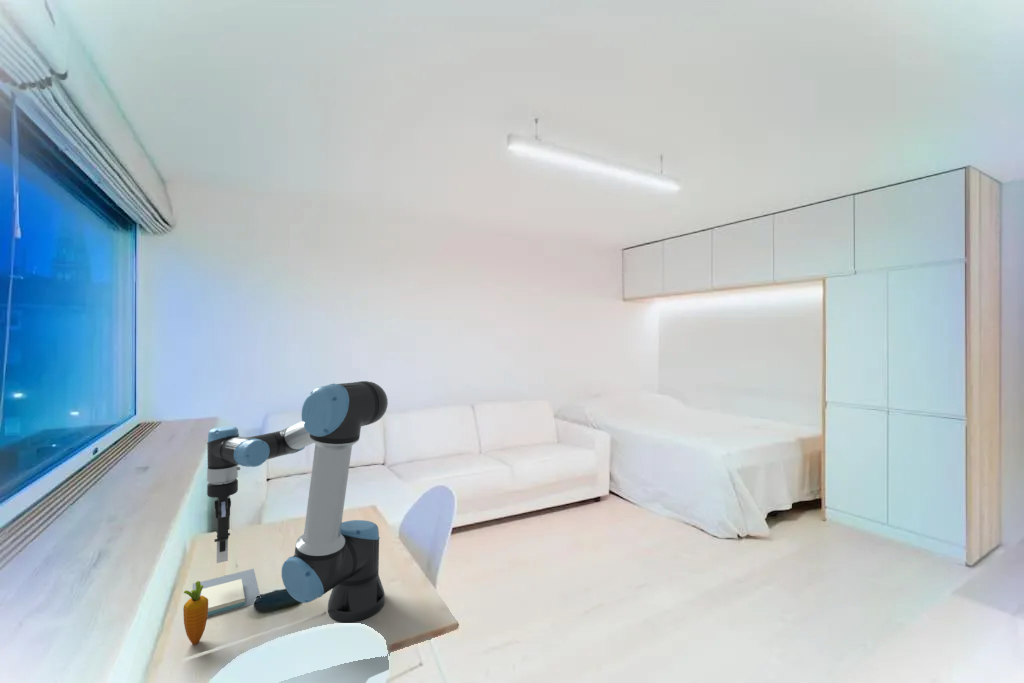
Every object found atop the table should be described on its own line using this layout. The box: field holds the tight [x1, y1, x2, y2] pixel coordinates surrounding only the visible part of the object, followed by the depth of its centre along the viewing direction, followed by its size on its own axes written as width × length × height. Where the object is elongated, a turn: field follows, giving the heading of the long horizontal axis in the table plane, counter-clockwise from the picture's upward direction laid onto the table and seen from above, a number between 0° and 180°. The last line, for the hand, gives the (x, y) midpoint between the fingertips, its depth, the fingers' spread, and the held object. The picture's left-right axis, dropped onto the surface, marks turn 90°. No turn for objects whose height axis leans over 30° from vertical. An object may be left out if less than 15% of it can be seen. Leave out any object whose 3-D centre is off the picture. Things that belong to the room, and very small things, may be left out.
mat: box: [192, 568, 261, 618], centre depth 130 cm, size 22×16×1 cm
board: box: [201, 579, 245, 616], centre depth 126 cm, size 2×10×12 cm
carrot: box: [183, 580, 208, 646], centre depth 109 cm, size 5×5×15 cm
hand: (222, 560), depth 130 cm, fingers closed
